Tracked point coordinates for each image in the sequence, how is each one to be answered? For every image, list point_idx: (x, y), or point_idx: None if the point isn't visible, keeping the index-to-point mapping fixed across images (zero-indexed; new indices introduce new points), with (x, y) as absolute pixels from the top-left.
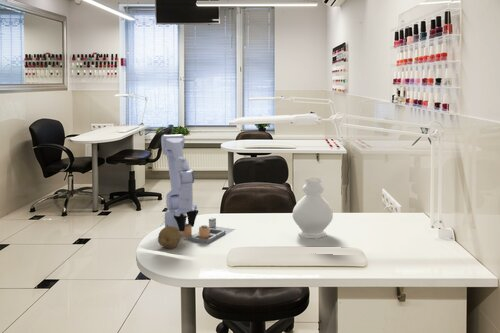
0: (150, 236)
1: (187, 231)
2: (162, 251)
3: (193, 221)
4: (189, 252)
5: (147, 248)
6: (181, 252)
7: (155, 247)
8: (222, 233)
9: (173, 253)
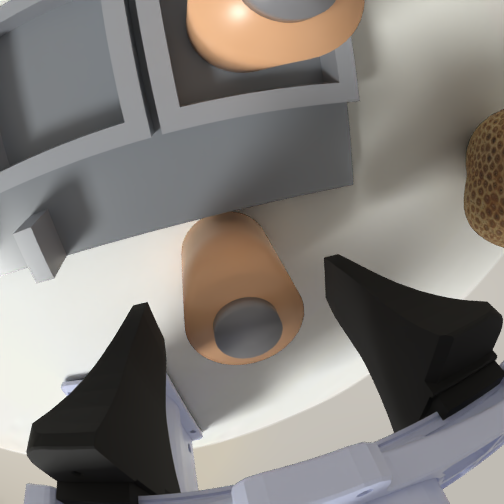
0: (328, 395)
1: (268, 252)
2: None
3: (135, 341)
4: (458, 21)
5: (479, 263)
6: (477, 66)
7: (464, 247)
8: (9, 7)
9: (499, 100)
